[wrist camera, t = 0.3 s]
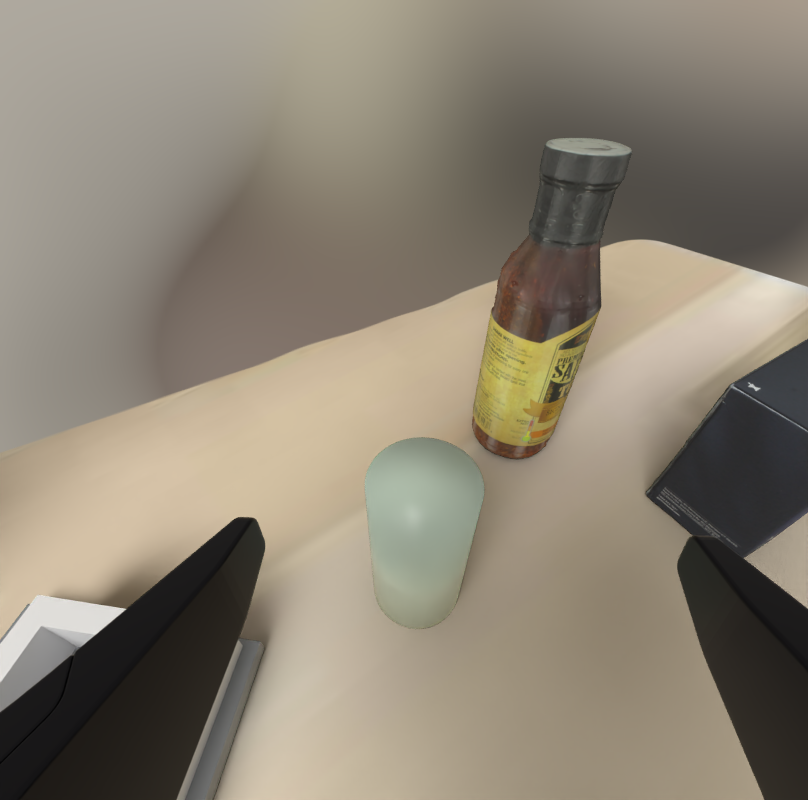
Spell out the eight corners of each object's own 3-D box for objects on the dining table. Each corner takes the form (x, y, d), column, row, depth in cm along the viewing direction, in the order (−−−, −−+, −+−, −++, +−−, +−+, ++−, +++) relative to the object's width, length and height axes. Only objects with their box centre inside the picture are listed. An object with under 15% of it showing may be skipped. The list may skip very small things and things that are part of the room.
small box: (734, 575, 25) (874, 468, 18) (640, 495, 29) (722, 382, 22) (818, 498, 29) (959, 386, 22) (725, 437, 33) (817, 326, 26)
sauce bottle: (539, 475, 30) (659, 172, 16) (458, 445, 32) (505, 152, 18) (556, 417, 34) (663, 139, 21) (484, 394, 36) (537, 126, 22)
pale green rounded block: (457, 635, 22) (484, 545, 15) (366, 621, 23) (352, 528, 16) (460, 548, 26) (484, 443, 19) (382, 537, 26) (376, 432, 19)
